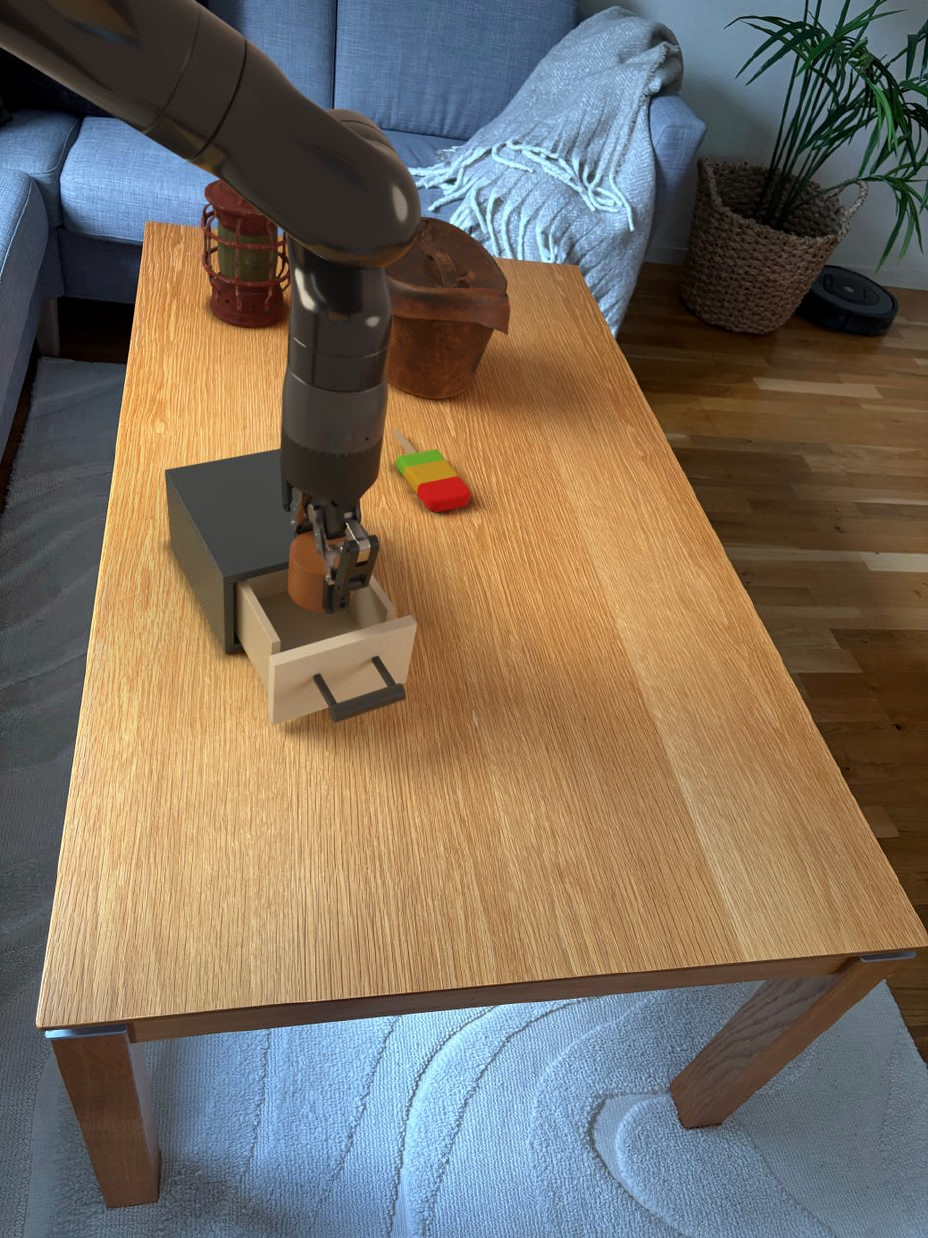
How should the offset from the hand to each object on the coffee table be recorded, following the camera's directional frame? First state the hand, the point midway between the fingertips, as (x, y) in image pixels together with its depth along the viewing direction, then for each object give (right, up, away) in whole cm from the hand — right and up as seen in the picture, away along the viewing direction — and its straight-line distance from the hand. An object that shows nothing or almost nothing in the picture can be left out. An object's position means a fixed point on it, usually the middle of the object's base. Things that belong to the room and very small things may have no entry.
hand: (320, 584), depth 79 cm
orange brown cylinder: (0, 0, 0) cm, 0 cm away
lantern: (-18, +41, +51) cm, 67 cm away
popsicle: (+7, +14, +31) cm, 35 cm away
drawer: (-1, -7, +6) cm, 10 cm away
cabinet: (-8, +1, +14) cm, 16 cm away
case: (+7, +30, +46) cm, 56 cm away
